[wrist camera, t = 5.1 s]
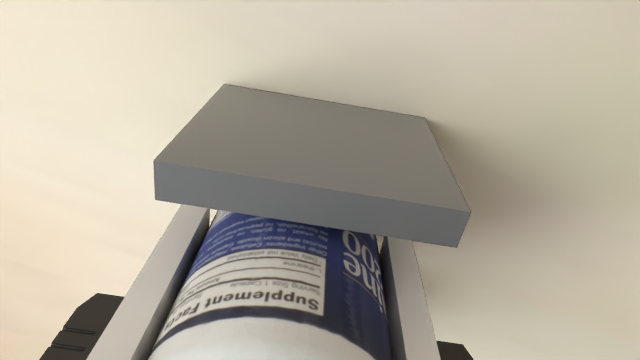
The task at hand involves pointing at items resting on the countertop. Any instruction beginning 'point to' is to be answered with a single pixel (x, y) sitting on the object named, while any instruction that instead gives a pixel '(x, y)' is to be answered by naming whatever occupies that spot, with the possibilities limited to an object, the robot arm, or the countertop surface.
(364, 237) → the pill bottle
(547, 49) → the countertop surface
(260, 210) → the gray upright plates
